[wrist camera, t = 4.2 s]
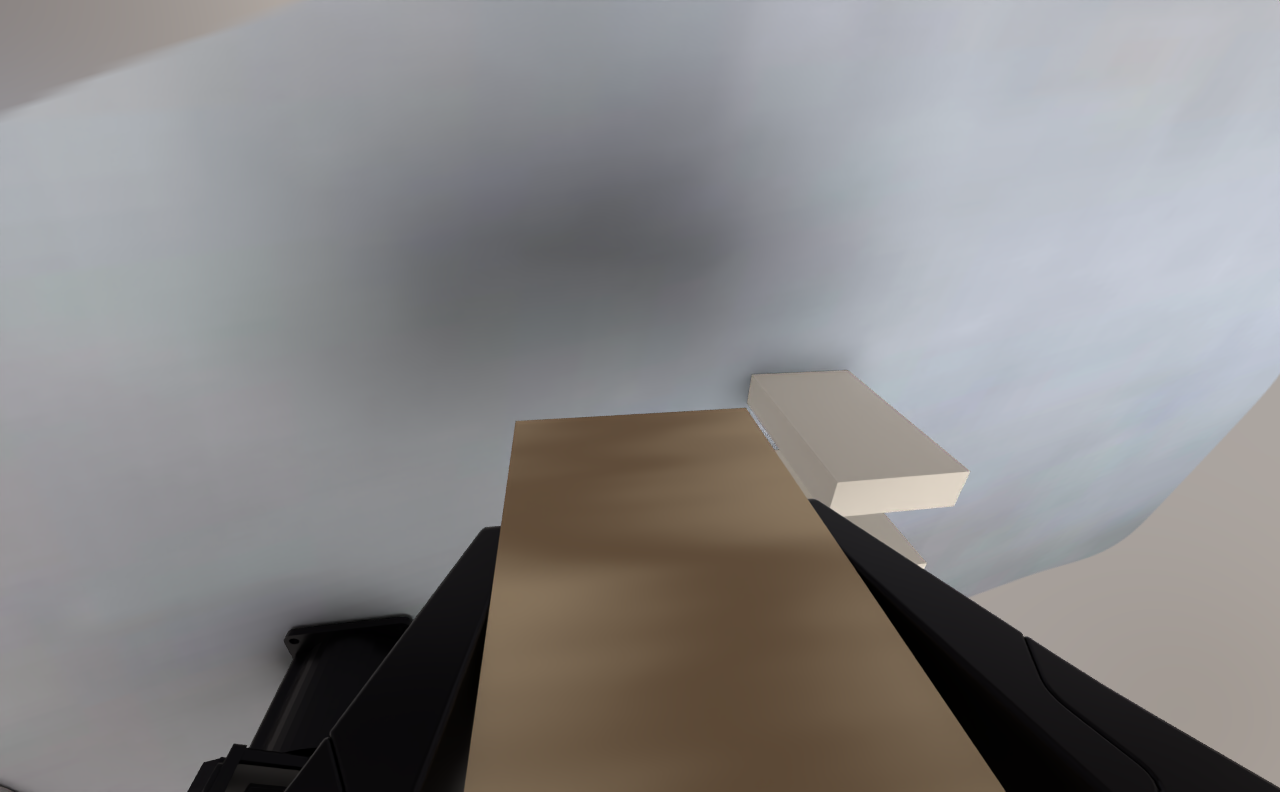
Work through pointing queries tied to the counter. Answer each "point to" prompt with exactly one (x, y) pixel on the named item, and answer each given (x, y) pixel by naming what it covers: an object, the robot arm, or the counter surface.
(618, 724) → the maple domino
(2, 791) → the ramekin
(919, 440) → the domino
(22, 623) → the counter surface
